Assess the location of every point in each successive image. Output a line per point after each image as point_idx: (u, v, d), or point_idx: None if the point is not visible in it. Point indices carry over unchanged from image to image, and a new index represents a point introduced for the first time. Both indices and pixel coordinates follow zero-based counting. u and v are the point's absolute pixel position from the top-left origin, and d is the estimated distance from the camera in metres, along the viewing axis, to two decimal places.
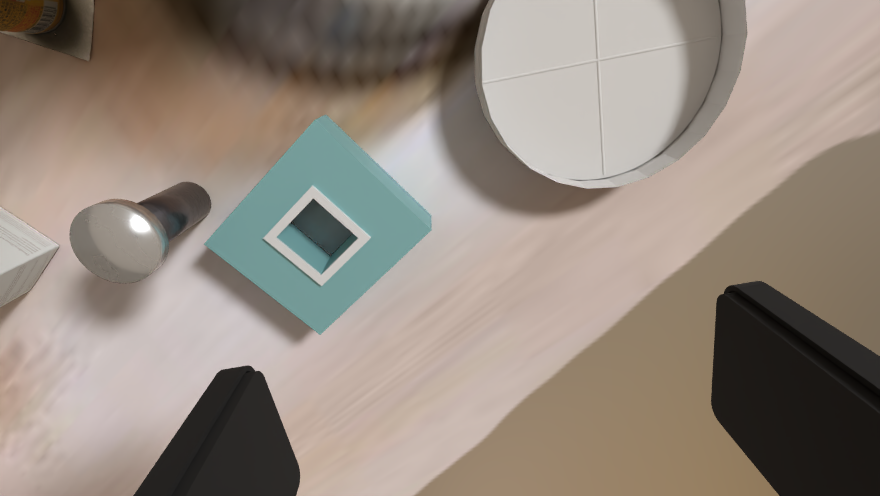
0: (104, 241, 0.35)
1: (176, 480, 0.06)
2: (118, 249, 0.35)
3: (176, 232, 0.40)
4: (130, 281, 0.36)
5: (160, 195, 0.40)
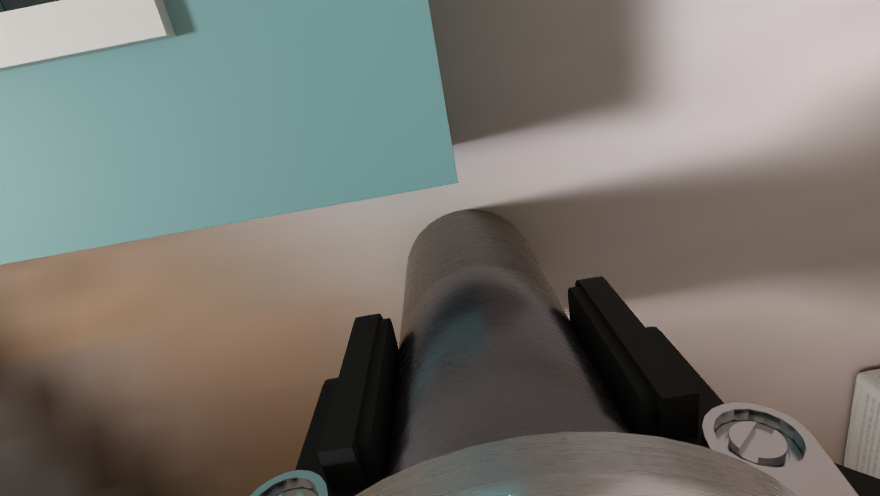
0: None
1: (362, 395, 0.07)
2: None
3: (448, 336, 0.08)
4: None
5: None
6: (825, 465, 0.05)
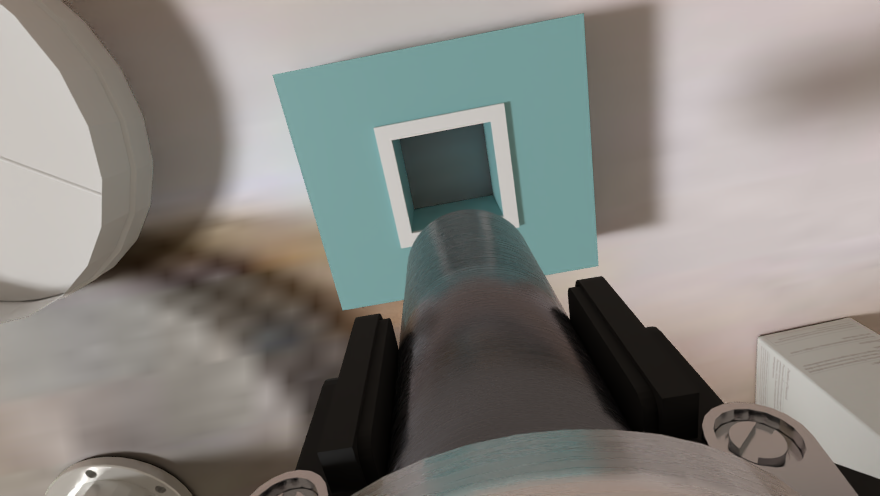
0: None
1: (362, 395, 0.07)
2: None
3: (448, 334, 0.08)
4: None
5: None
6: (825, 465, 0.05)
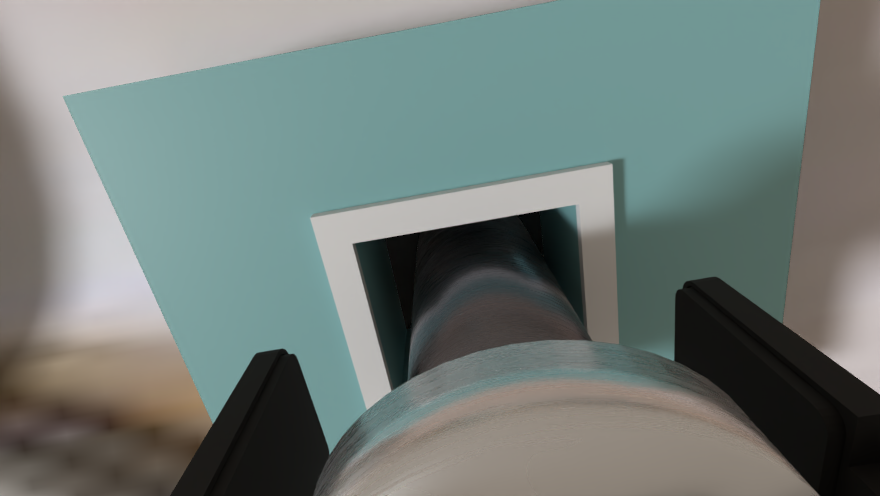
0: None
1: (228, 450, 0.07)
2: None
3: (457, 297, 0.09)
4: (752, 474, 0.04)
5: None
6: None
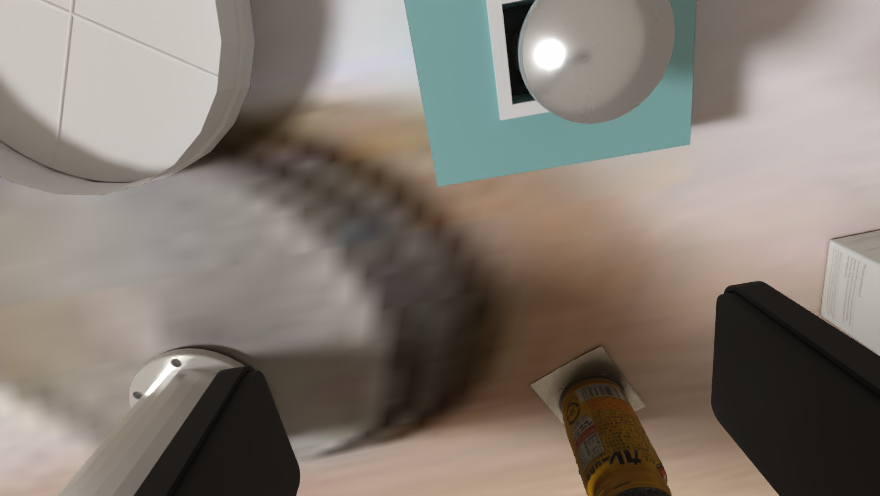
0: (605, 63, 0.20)
1: (176, 480, 0.06)
2: (600, 36, 0.19)
3: None
4: None
5: None
6: None
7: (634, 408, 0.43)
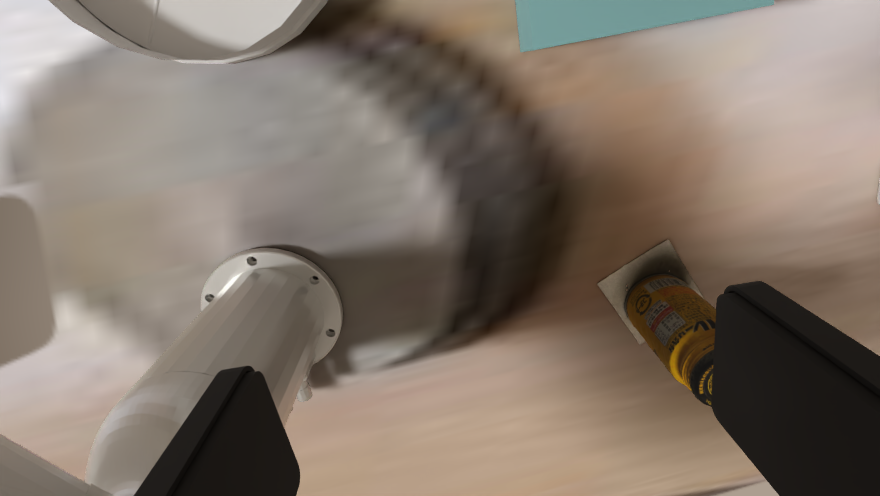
0: None
1: (176, 480, 0.06)
2: None
3: None
4: None
5: None
6: None
7: None
